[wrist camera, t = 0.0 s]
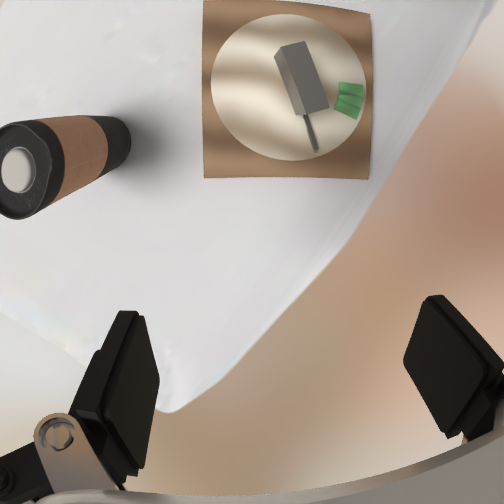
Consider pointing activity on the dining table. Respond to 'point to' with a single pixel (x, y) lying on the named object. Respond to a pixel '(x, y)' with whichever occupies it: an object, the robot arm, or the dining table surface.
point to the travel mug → (56, 159)
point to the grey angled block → (301, 82)
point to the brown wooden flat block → (284, 91)
